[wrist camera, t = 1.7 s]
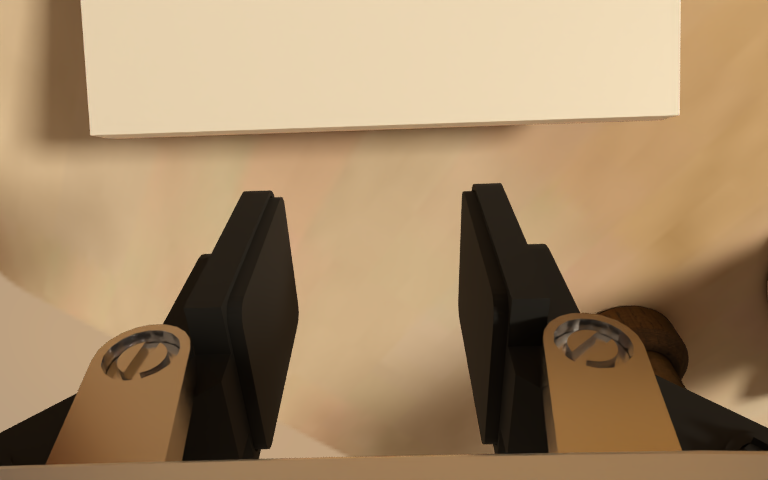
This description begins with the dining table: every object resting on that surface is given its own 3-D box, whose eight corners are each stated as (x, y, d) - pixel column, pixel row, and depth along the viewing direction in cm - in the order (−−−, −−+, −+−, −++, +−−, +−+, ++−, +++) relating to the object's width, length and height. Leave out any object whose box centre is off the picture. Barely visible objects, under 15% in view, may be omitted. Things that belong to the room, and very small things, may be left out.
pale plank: (661, 120, 25) (679, 115, 23) (109, 138, 25) (90, 135, 24) (662, -89, 24) (681, -108, 22) (95, -65, 24) (74, -83, 23)
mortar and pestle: (557, 374, 39) (672, 686, 23) (590, 297, 36) (750, 597, 20) (650, 387, 39) (824, 699, 24) (690, 312, 36) (923, 616, 21)
